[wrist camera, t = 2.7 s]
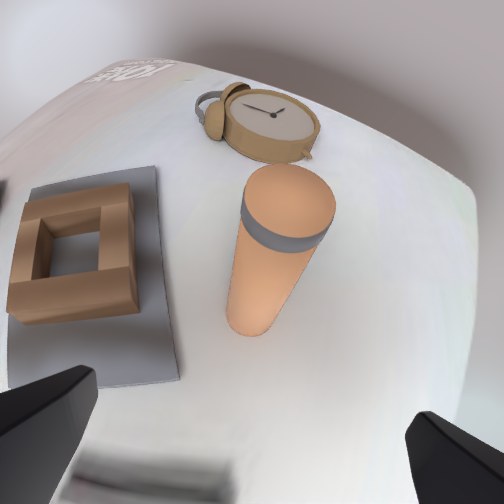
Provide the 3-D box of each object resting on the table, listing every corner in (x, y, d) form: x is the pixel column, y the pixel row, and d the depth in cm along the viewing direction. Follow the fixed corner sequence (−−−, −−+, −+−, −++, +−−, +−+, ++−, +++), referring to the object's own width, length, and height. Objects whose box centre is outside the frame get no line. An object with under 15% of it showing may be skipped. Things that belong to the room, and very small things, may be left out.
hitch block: (179, 380, 19) (172, 370, 16) (14, 389, 16) (-15, 380, 12) (155, 172, 29) (151, 142, 25) (35, 195, 26) (21, 168, 22)
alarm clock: (314, 159, 29) (179, 101, 27) (295, 189, 33) (173, 135, 32) (327, 110, 35) (221, 64, 33) (311, 137, 39) (212, 93, 38)
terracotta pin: (280, 331, 22) (351, 228, 11) (231, 341, 21) (257, 240, 10) (267, 287, 24) (316, 161, 13) (220, 295, 23) (235, 165, 12)
